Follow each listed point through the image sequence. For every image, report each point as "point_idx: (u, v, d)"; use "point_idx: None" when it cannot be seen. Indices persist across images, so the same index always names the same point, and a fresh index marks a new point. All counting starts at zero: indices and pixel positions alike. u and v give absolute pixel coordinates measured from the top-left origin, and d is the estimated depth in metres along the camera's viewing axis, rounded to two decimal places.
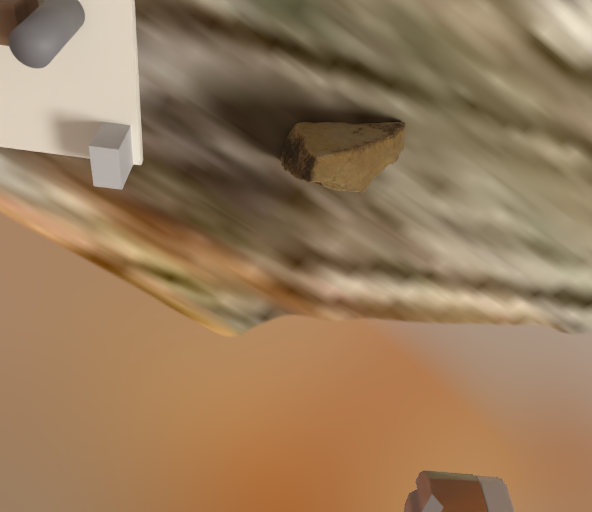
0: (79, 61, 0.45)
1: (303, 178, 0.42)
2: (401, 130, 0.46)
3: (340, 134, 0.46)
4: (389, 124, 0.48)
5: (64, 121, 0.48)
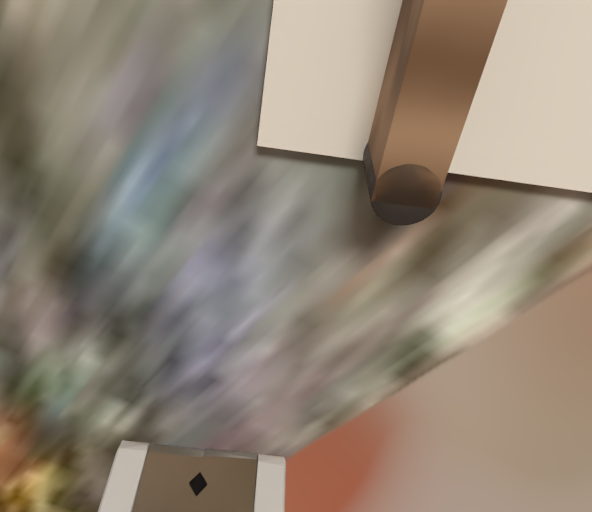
0: None
1: None
2: None
3: None
4: None
5: None
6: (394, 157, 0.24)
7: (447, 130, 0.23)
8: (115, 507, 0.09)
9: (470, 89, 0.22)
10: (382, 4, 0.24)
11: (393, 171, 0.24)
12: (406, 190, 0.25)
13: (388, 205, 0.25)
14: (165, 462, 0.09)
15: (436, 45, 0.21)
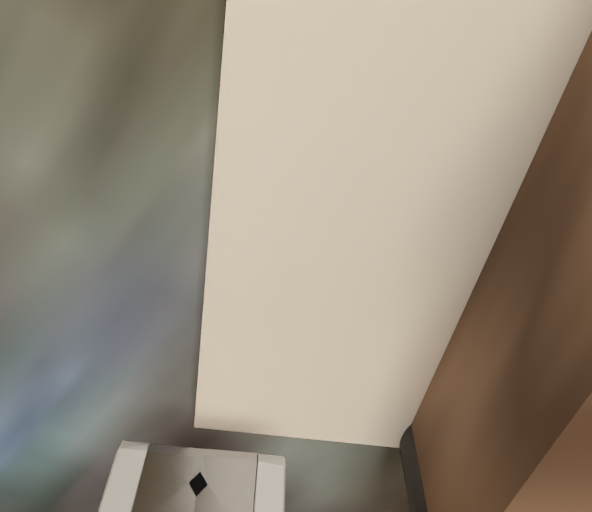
0: None
1: None
2: None
3: None
4: None
5: None
6: None
7: None
8: (115, 507, 0.09)
9: None
10: (464, 212, 0.10)
11: None
12: None
13: None
14: (165, 462, 0.09)
15: None
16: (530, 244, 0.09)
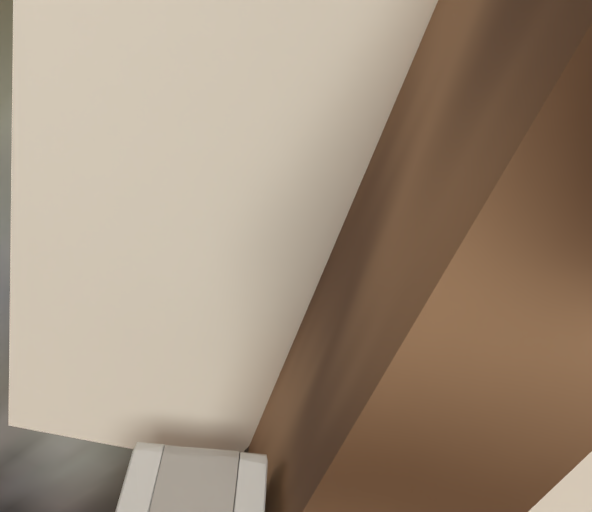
0: None
1: None
2: None
3: None
4: None
5: None
6: None
7: None
8: (132, 509, 0.09)
9: None
10: (287, 231, 0.10)
11: None
12: None
13: None
14: (180, 464, 0.09)
15: (406, 462, 0.07)
16: (341, 275, 0.09)
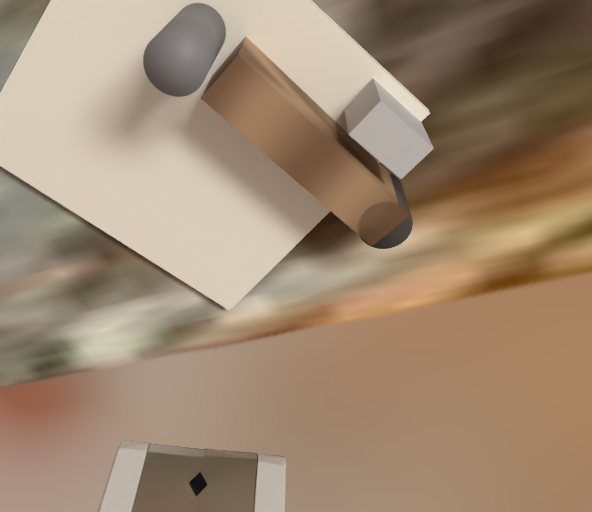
0: None
1: None
2: None
3: None
4: None
5: None
6: (351, 218, 0.32)
7: (357, 180, 0.31)
8: (115, 507, 0.09)
9: (339, 154, 0.30)
10: (95, 106, 0.33)
11: (361, 223, 0.32)
12: (381, 223, 0.32)
13: (384, 239, 0.33)
14: (165, 462, 0.09)
15: (296, 160, 0.30)
16: None
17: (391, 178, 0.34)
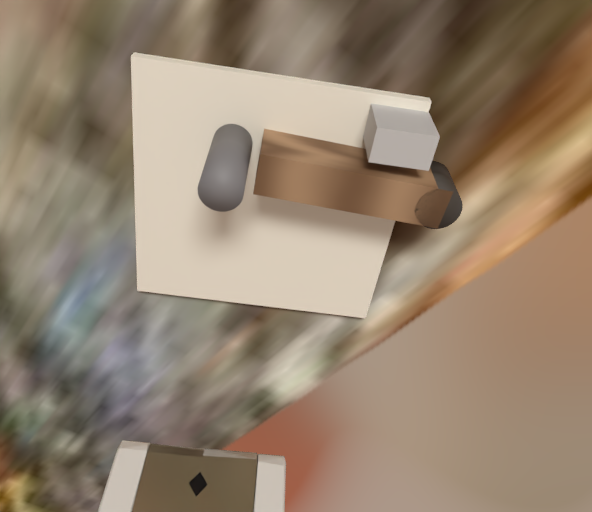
0: None
1: None
2: None
3: None
4: None
5: None
6: (408, 216, 0.38)
7: (395, 189, 0.37)
8: (115, 507, 0.09)
9: (370, 178, 0.36)
10: (195, 226, 0.44)
11: (418, 216, 0.38)
12: (434, 209, 0.38)
13: (444, 218, 0.38)
14: (165, 462, 0.09)
15: (341, 198, 0.37)
16: None
17: None
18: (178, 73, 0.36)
